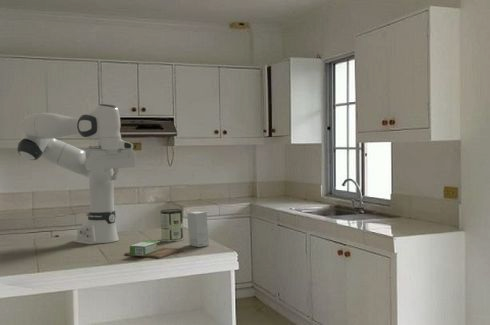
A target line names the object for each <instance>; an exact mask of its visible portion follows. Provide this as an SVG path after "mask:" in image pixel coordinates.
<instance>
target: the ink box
mask: <svg viewBox="0 0 490 325" xmlns="http://www.w3.org/2000/svg"><path fill="white" fill-rule="evenodd" d="M160 242H162V240H150V239H146V240H144V241H141V242H138V243H134V244H132V245H129V252H130V255H135V256H134V257H138V256H145V255H148V254H151V253H154V252H157V247H158V244H159V243H160Z"/></svg>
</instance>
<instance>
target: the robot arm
mask: <svg viewBox="0 0 490 325" xmlns="http://www.w3.org/2000/svg"><path fill="white" fill-rule="evenodd" d="M20 127H21V131H22V132H23V134H22V136H21V139H20V141H19V143H18V144H17V149H16V150H17V153H18V154H19V155H20V156H21V157H23V158H24V159H26V160H30V161H37V160H39V158H40V157H41V158H43V159H44V160H46V161H48V162H49V163H51V164H54V165H56V166H58V167H61V168H63V169H66V170H68V171H69V172H73V173H75V174H78V175H81V176H83V177H85V178H88V179H89V180H88V182H89V183H88V184H89V212H88V213H86V214H85V216H86V217H87V219H86V221H85V222H84V223H83V224H82V225H80V226H79V227H78V229H77V235H76V237H75V238H73V239H72V240H71V241H72V242H73V243H79V244H84V245H85V244H86V245H95V244H105V243H108V244H109V243H112V242H113V243H114V242H118V241H119V240H120V239H119V234H118V230H117V225H116V218H117V217H116V215H117V214H116V210H115V196H114V195H115V191H114V190H115V189H114V188H115V185H114V181H117V176H118V173H119V171H120V170H119V169H126V168H135V167H136V164H137V160H136V153H135V150H134V144H133V143H132V142H129V141H125V140H123V139H122V134H121V115H120V111H119V108H118V107H117V106H116V105H113V104H105V103H100V104H98V105H97V106H96V108H95V109H93V110H92V111H90V112H88V113H85V114H82V115H81V116H80V117H79V118H78V117H72V116H68V115H63V114H58V113H54V112H53V113H52V112H37V113H33V114H29V115H26V116H25V117H23V119H22V121H21V125H20ZM77 134H79V135H81V136H82V137H83V138H87V139H96V138H97V142H98V144H97V145H94V146H93V145H89V146H87V148H85V150H83V149H81V148H80V147H77V146H74V145H71V144H70V143H67V142H64V141H62V140H59V139H58V138H62V137H67V136H68V137H69V136H72V135H77Z"/></svg>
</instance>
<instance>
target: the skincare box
mask: <svg viewBox="0 0 490 325" xmlns="http://www.w3.org/2000/svg"><path fill="white" fill-rule="evenodd" d="M207 215H208V214H207V211H199V210H198V211H190V212H187V228H188V229H187V230H188V242H189V243H188V244H189V246H192V247H196V248H200V247H208V246H210V245H209V242H210V241H209V227H208V216H207Z"/></svg>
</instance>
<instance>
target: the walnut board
mask: <svg viewBox="0 0 490 325" xmlns="http://www.w3.org/2000/svg"><path fill="white" fill-rule="evenodd" d="M182 252H184V248H175V247H174V248H172V247H161V246H157V252H154V253H151V254H148V255H145V256H137V257H139V258H140V257H141V258H151V259H163V258H167V257H169V256H172V255H175V254H178V253H179V254H180V253H182ZM124 256H129V257H136V256H135V255H130V251H127V252H125V253H124Z"/></svg>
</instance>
